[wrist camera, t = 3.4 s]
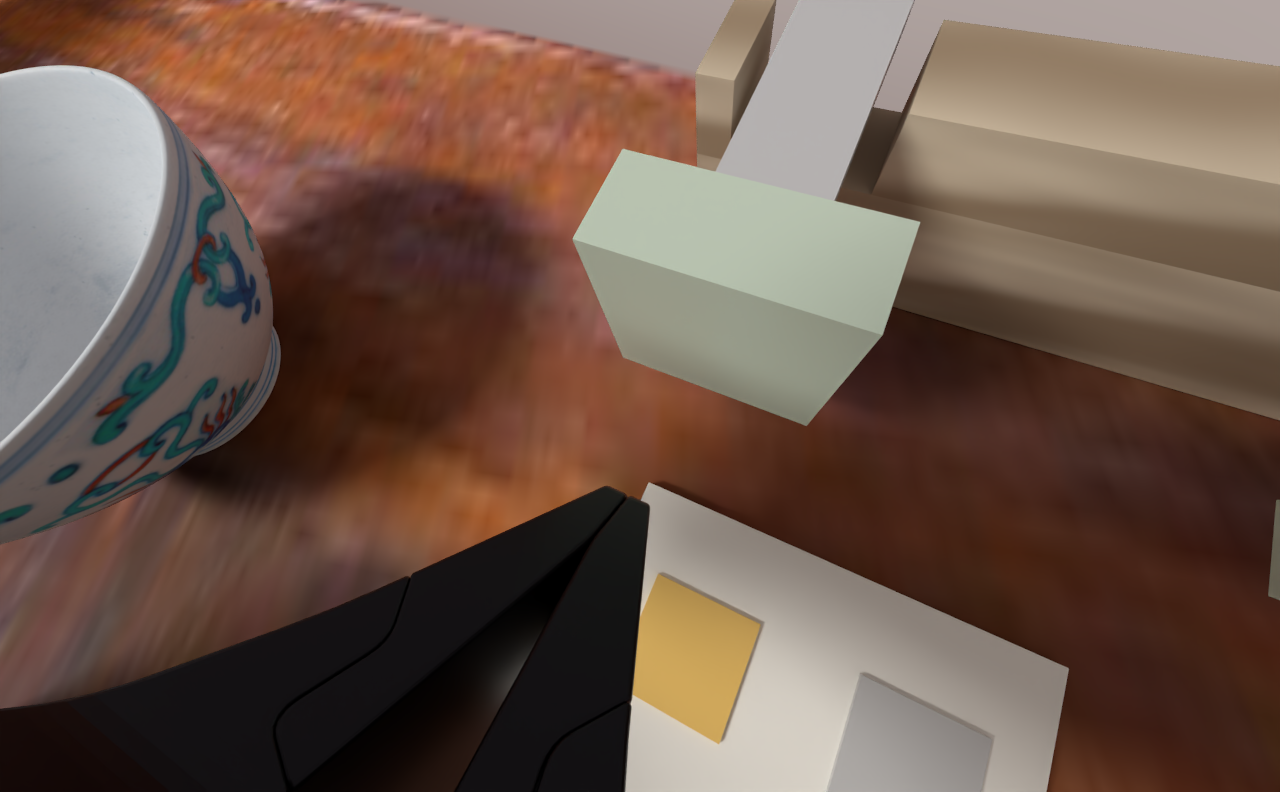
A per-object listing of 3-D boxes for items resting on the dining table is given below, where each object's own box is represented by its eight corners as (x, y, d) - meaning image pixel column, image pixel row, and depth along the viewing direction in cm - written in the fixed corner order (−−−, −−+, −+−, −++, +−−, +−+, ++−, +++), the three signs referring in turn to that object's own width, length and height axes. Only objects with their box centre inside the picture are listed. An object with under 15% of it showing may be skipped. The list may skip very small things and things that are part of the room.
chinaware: (339, 181, 22) (155, -4, 14) (413, 462, 16) (185, 395, 9) (50, 314, 21) (-286, 195, 14) (34, 642, 16) (-505, 717, 9)
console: (1362, 445, 13) (2069, 334, 6) (698, 249, 18) (695, 73, 11) (1366, 353, 13) (2002, 166, 7) (726, 190, 18) (739, -9, 12)
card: (989, 1027, 10) (1004, 1053, 10) (538, 738, 13) (531, 746, 13) (1057, 664, 12) (1073, 669, 12) (650, 483, 15) (648, 481, 15)
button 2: (806, 425, 11) (882, 335, 6) (623, 357, 12) (572, 239, 8) (925, 98, 14) (1041, -140, 9) (763, 69, 15) (791, -153, 10)
